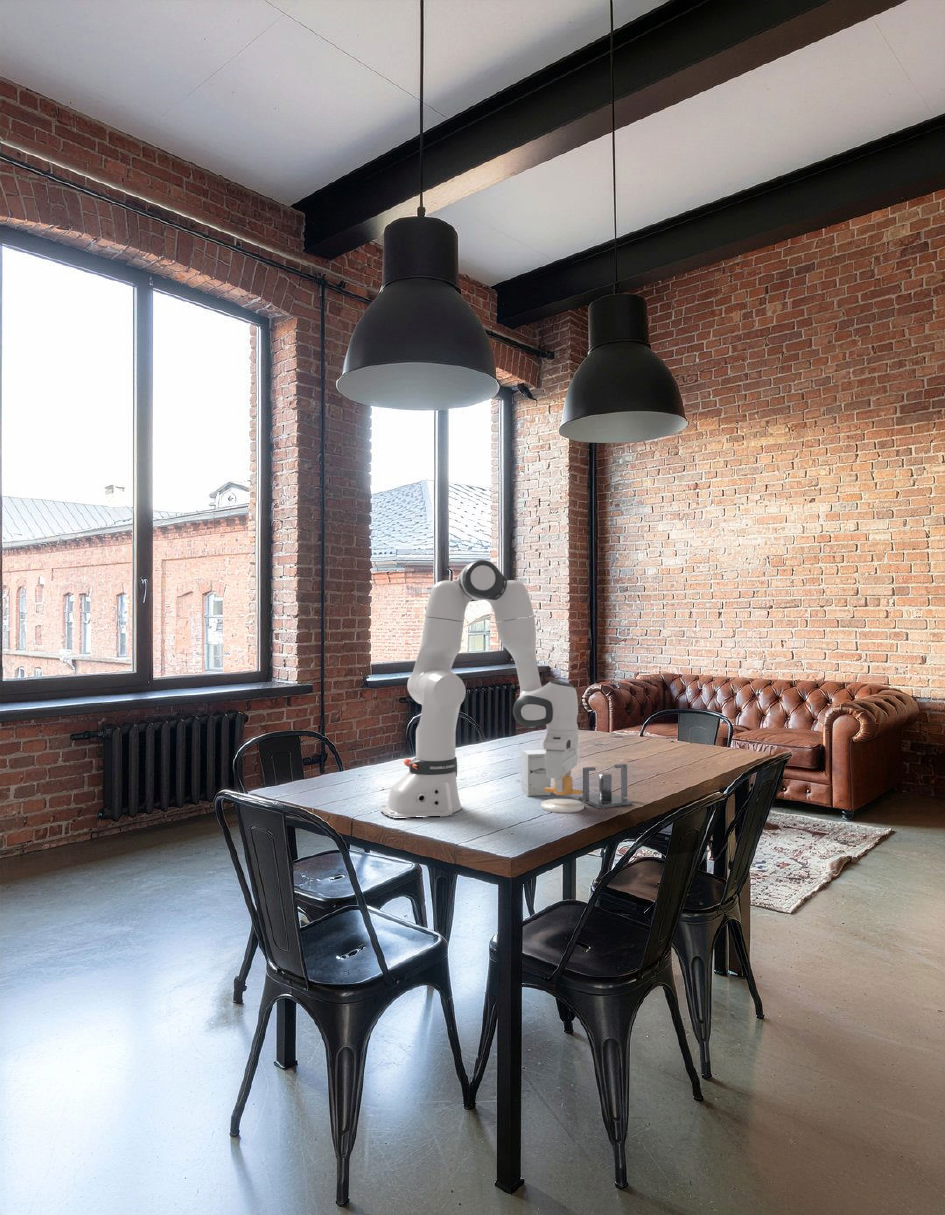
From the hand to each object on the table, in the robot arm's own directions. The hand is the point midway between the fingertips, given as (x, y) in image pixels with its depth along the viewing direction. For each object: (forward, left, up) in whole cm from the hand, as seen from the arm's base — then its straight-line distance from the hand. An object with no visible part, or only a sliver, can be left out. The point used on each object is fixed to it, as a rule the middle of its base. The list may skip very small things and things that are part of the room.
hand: (563, 788), depth 219 cm
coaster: (0, 0, -5) cm, 5 cm away
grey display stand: (+14, 0, -5) cm, 15 cm away
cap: (0, 0, -1) cm, 1 cm away
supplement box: (+1, +18, -6) cm, 19 cm away
